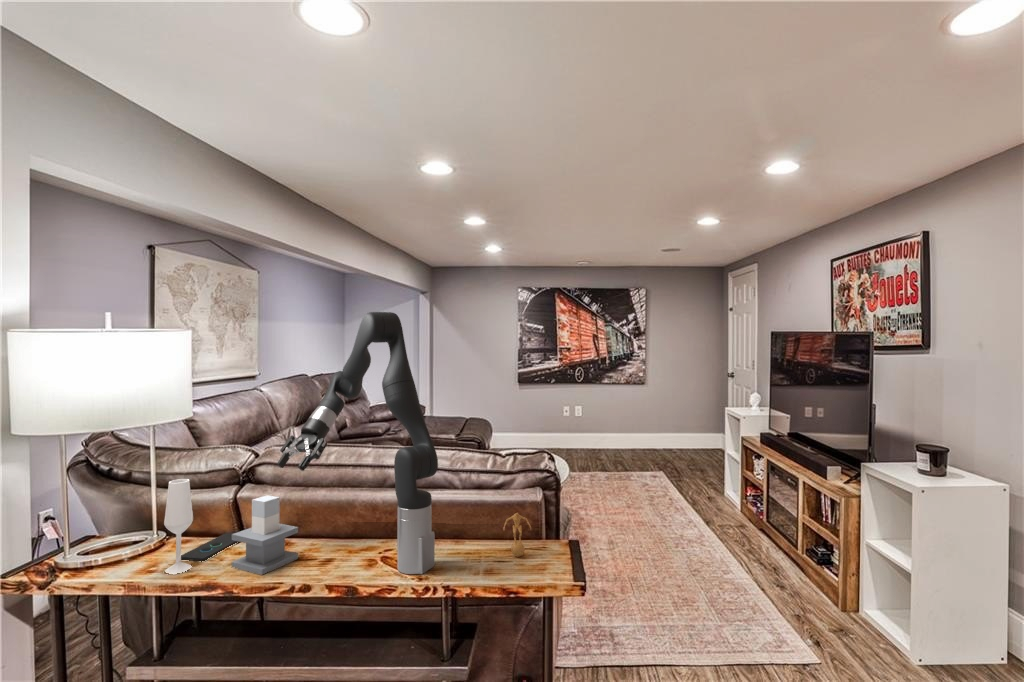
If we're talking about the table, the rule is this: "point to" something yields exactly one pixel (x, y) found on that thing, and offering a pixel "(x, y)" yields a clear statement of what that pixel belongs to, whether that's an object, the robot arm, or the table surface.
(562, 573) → the table surface
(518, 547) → the figurine
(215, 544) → the smart home device
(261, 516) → the block
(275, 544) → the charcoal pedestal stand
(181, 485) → the champagne flute
